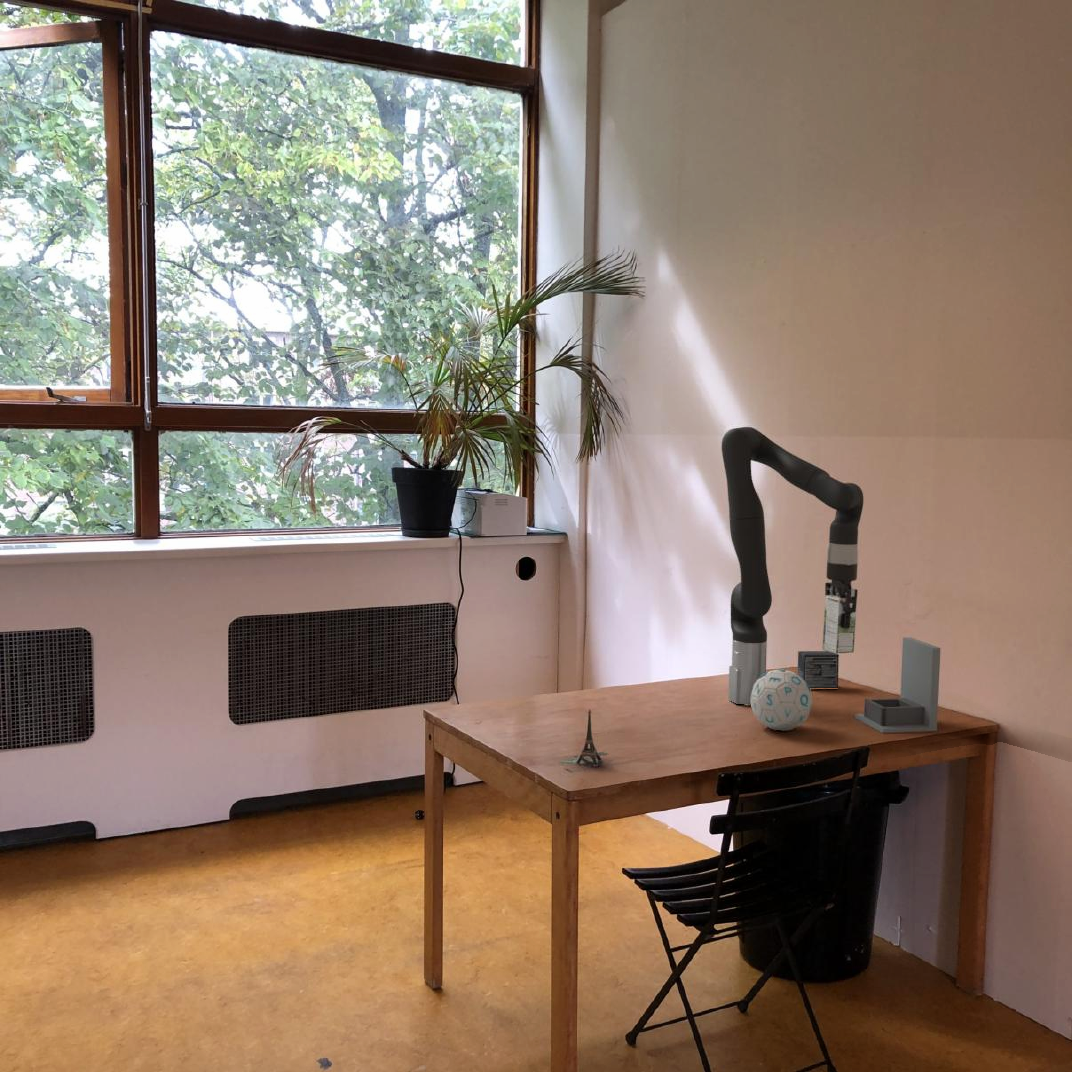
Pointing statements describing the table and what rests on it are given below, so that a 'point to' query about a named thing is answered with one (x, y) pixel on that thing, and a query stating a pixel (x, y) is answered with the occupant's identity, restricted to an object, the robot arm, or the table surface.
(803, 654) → the small box
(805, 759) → the table surface
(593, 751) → the eiffel tower figurine
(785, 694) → the puzzle ball
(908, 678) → the wall holder
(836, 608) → the syrup box
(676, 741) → the table surface
